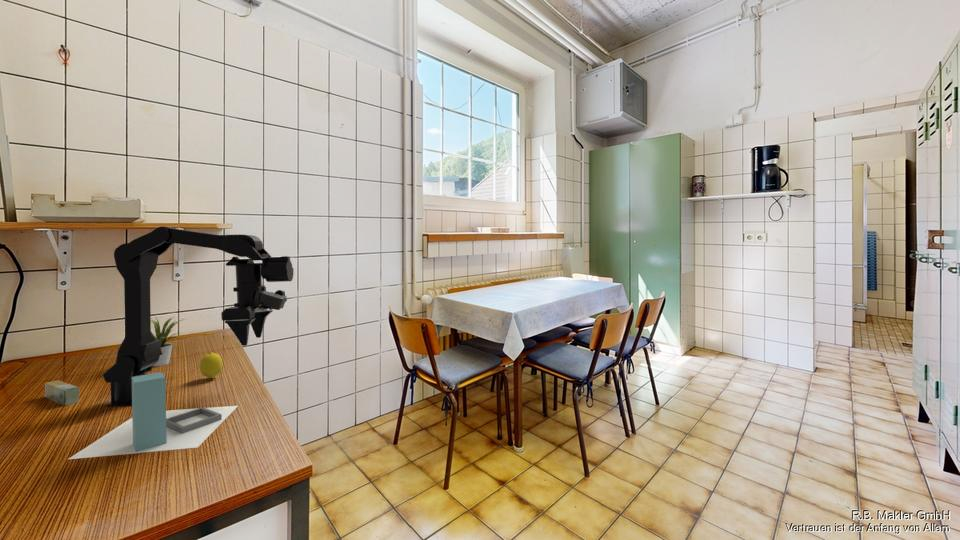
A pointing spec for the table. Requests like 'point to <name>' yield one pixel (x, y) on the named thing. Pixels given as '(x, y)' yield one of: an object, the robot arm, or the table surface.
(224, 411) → the baseplate
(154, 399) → the post
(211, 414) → the socket
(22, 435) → the table surface
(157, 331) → the house plant
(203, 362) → the lemon
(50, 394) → the medication box
